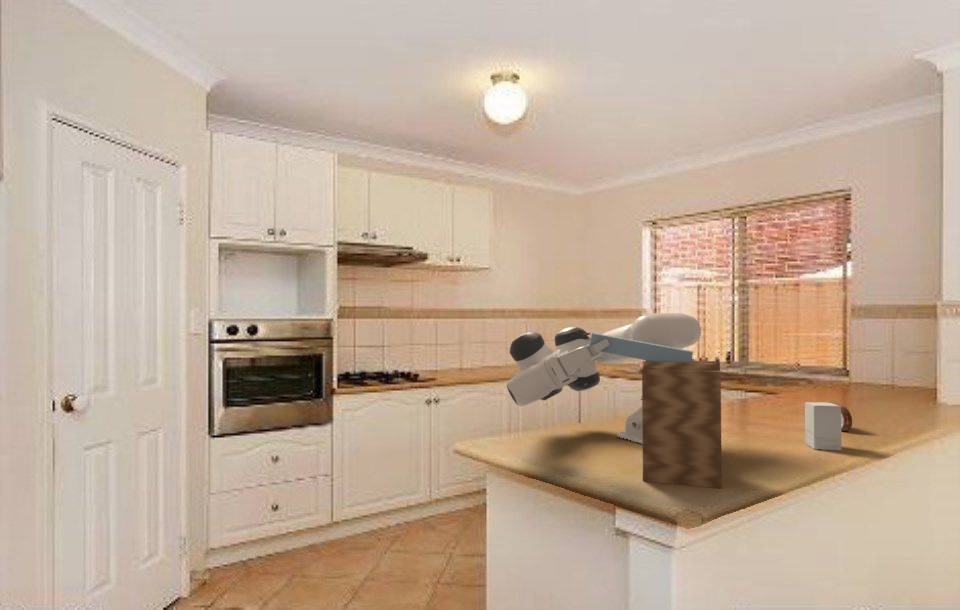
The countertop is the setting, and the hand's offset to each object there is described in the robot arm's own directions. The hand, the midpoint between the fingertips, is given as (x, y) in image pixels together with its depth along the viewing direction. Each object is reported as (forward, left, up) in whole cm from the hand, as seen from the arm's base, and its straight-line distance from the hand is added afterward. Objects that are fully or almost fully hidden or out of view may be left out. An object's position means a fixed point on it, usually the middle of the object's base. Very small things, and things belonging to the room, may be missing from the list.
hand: (610, 340), depth 144 cm
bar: (+6, +3, -4) cm, 8 cm away
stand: (+14, +9, -32) cm, 36 cm away
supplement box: (+24, +67, -32) cm, 78 cm away
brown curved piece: (+16, +99, -33) cm, 105 cm away
